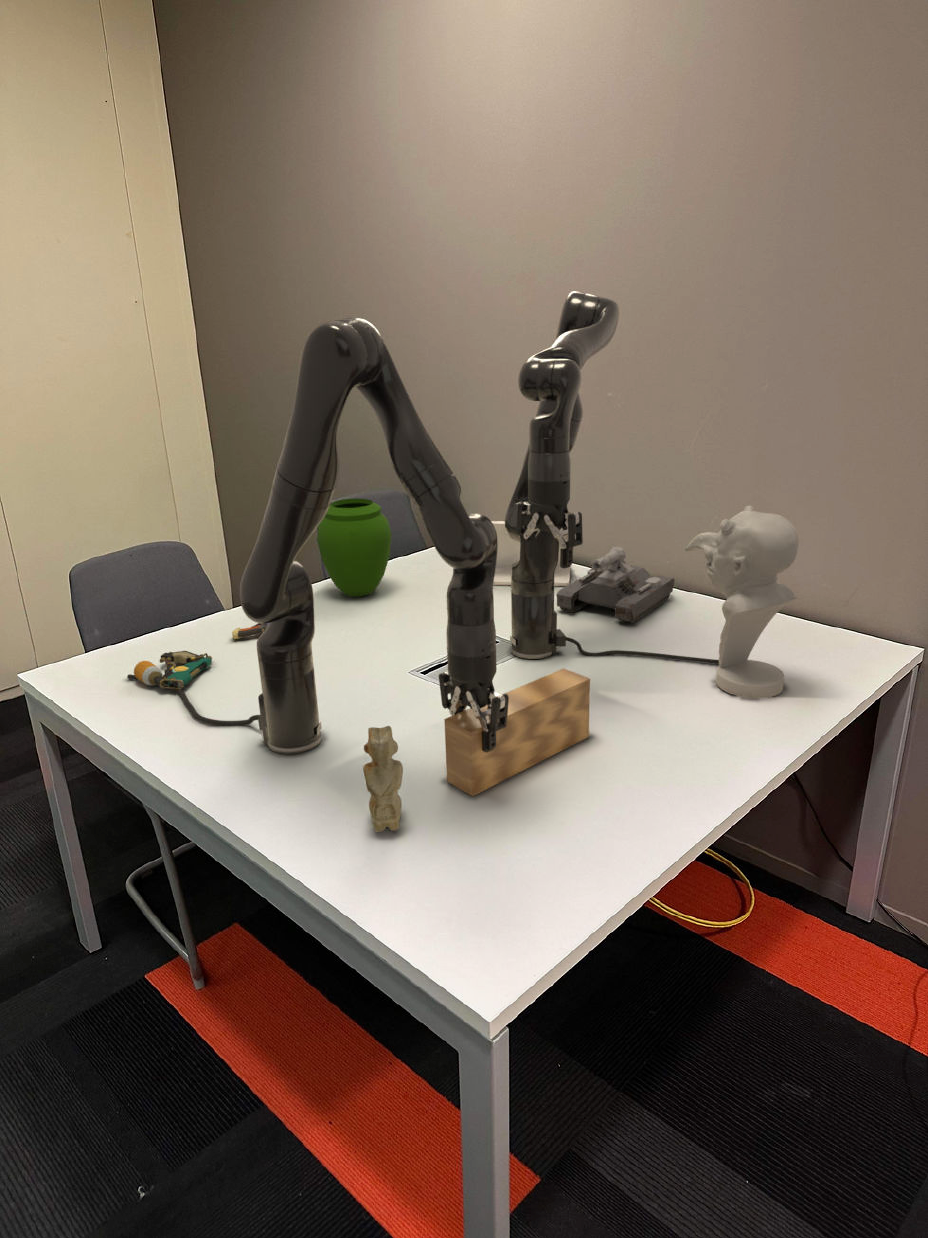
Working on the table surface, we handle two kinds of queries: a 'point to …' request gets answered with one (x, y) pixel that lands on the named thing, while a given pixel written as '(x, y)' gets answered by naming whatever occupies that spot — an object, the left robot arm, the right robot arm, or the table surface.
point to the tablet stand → (511, 553)
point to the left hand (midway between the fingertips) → (474, 742)
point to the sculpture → (383, 778)
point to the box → (519, 731)
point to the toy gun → (249, 630)
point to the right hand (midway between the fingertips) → (548, 562)
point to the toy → (616, 588)
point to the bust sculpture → (748, 593)
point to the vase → (355, 545)
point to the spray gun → (172, 669)
